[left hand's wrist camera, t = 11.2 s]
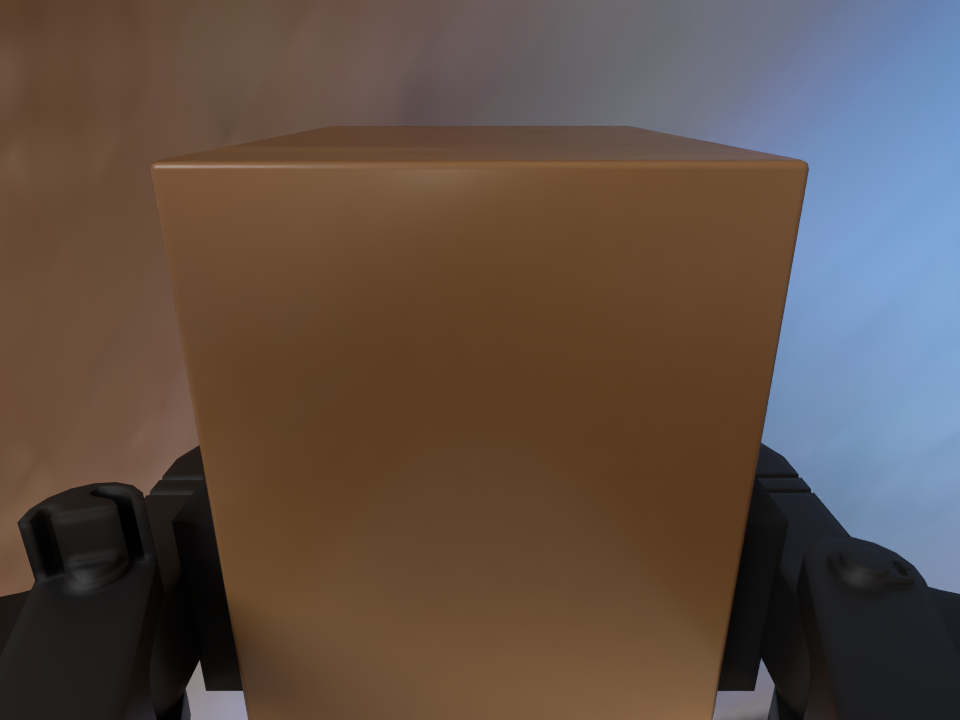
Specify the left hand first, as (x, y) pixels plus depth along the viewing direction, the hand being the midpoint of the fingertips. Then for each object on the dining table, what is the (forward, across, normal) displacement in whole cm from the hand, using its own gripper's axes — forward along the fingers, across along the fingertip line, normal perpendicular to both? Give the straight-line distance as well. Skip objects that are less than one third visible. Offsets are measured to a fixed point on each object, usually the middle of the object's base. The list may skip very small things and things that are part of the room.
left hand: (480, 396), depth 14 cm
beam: (0, 0, -32) cm, 32 cm away
